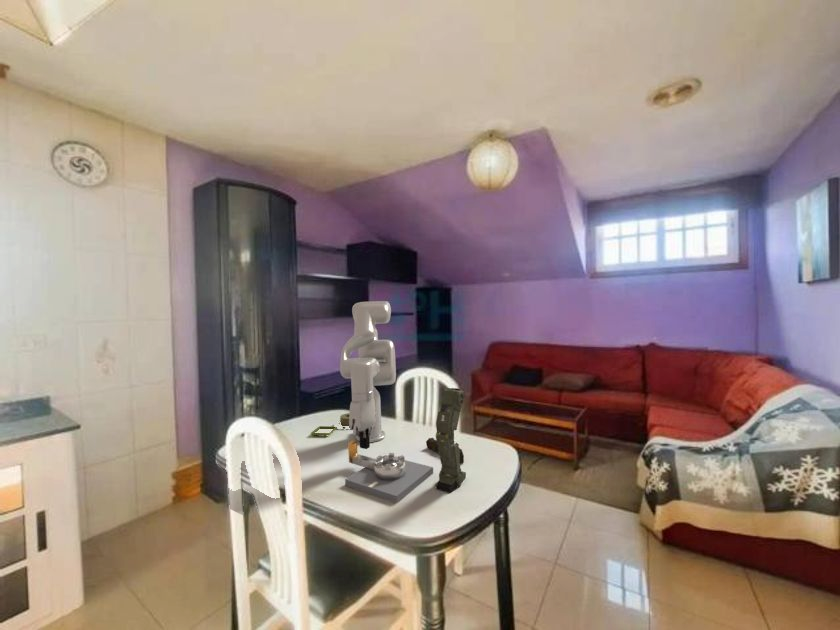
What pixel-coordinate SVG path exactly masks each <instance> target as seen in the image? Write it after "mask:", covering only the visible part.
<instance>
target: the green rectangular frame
mask: <svg viewBox="0 0 840 630" xmlns="http://www.w3.org/2000/svg"><path fill="white" fill-rule="evenodd" d="M336 428H337V427H334V426H327V425H326V426H325V425H323V426H322V425H321V426H317V427H316V428H315V429H313V430H312V431H310V434H311V435H312V436H313V435H329V436H331V434H333V433H334V432H335V431H336V430H337V429H336ZM319 429H333V430H332V431H331V432H330V433H315V432H317V431H318V430H319ZM334 430H335V431H334ZM333 431H334V432H333Z"/></svg>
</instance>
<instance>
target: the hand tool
mask: <svg viewBox="0 0 840 630" xmlns="http://www.w3.org/2000/svg"><path fill="white" fill-rule="evenodd" d="M425 443H426V448H428V449H430V450H431V449H432V450H434V451H437V452H438V453H439V450H438V445H437V441H436V439H435V438H434V437H429V438H428V439H427V440H426V441H425ZM464 458H465V456H464V452H463V449H462V448H460V463H461V464H463V463H464V462H465V459H464Z"/></svg>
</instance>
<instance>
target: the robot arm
mask: <svg viewBox="0 0 840 630" xmlns="http://www.w3.org/2000/svg"><path fill="white" fill-rule="evenodd" d="M351 312H352V318H353V322H354V328H353V332H354V333H353V336H352V337H350V339H348V340H347V342H346V343H345V344H344V346H343V348H342V350H341V352H340V354H341V355H340V367H339V369H340V370H339V372H340V375H341V376H342V377H343V379H346V380H347V379H350V381H351V402H350V405H349V412H348V413H349V428H350V430H349V431H352V436H355V441H357V442H359V448H360V449H364V450H368V449H369V448H370V447H371V445H370V443H374V442H378V441H379V442H380V441H381V440H384V439H385V437H386V432H385V431H384V430H382V411H381V410H382V407H381V395H380V392H379V391H378V390H377V389H376V387H377V386H389V385H393V384H394V383H396V378H397V370H396V369H397V367H396V364H397V362H396V350H395V343H394V342H393V341H392V340H391V339H379V338H378V337H379V336H378V329H377V328H376V325H377V324H378V325H379V324H380V325H381V324H387V323H389V322H390V320H391V314H392V308H391V304H390V302H389V301H386V300H382V301H381V300H380V301H378V300H377V301H374V300H373V301H360V302H356V303H354V305H353V306H352V309H351ZM357 350H358V357H353V358H352V357H351V358H350V356H351V355H352V353H354V352H355V351H357ZM375 386H376V387H375Z"/></svg>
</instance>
